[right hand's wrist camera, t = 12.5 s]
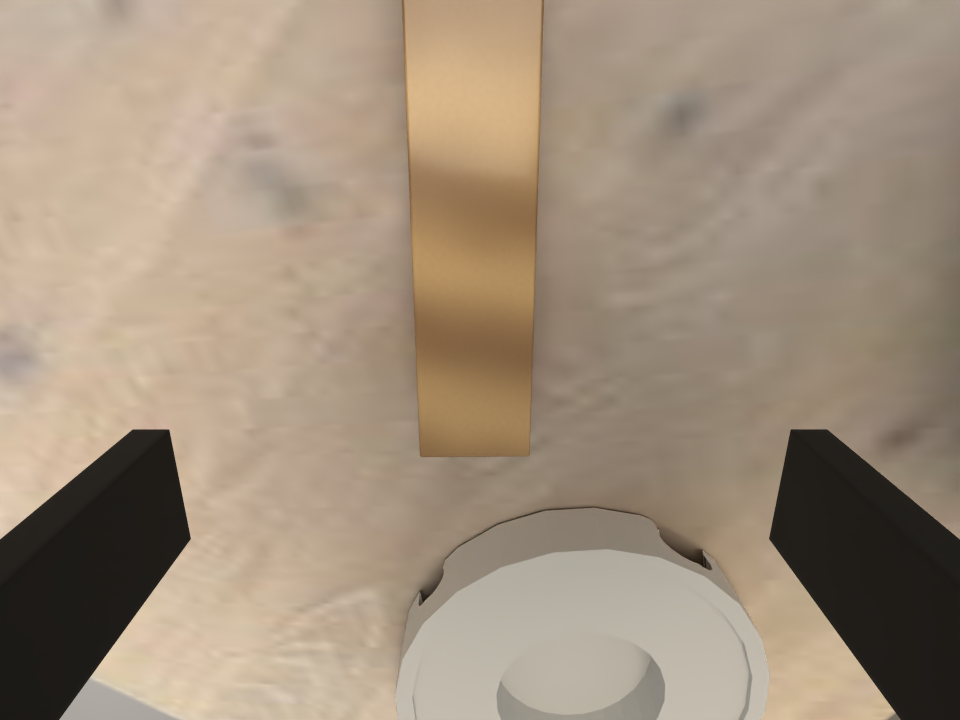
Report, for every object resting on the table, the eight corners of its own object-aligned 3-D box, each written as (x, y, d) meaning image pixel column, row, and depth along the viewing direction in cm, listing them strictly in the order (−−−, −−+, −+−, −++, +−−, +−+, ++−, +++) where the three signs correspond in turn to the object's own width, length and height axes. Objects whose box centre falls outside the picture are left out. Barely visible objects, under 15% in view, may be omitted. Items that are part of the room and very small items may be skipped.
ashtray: (732, 477, 36) (763, 516, 33) (749, 745, 44) (775, 801, 40) (363, 542, 38) (350, 587, 34) (443, 791, 45) (440, 850, 42)
